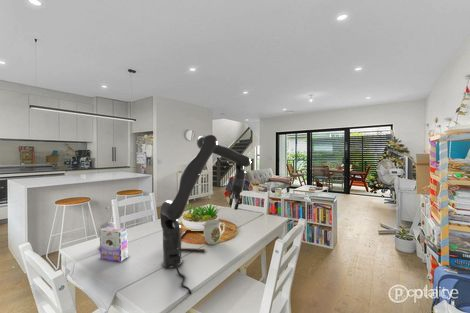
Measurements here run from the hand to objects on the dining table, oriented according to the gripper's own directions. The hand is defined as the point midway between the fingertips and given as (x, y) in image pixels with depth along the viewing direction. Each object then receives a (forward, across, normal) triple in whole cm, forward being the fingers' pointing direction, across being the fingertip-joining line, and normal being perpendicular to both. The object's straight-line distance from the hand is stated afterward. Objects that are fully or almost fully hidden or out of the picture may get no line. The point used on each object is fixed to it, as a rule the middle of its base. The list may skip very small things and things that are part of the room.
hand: (233, 207), depth 150 cm
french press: (+36, -18, -71) cm, 82 cm away
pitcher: (+22, +6, -12) cm, 26 cm away
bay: (+25, -2, -22) cm, 33 cm away
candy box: (+33, -1, -67) cm, 75 cm away
